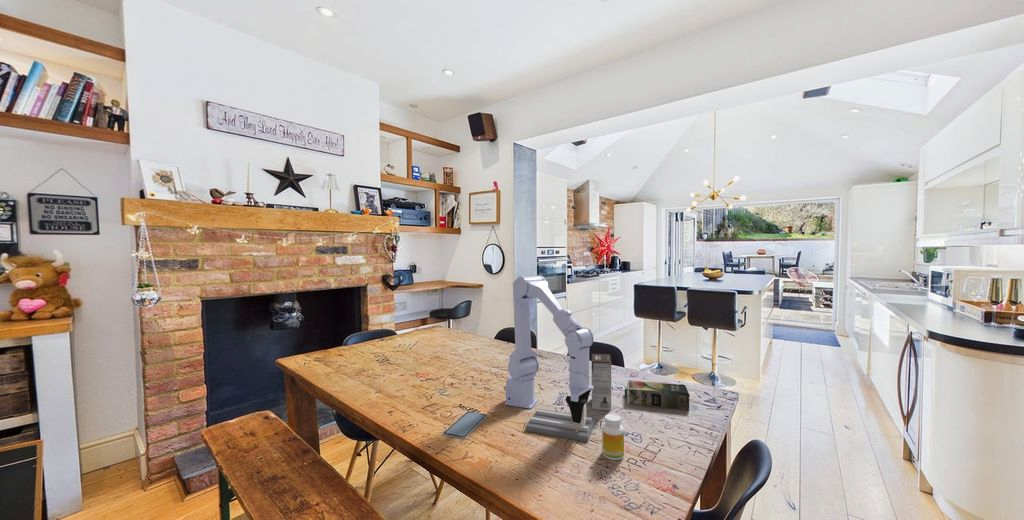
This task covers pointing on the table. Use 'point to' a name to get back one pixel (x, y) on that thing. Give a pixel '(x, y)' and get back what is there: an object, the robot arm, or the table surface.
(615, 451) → the supplement bottle
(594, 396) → the coffee box
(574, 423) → the fader tab
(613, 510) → the table surface
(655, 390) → the juice carton
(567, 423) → the grey slider track
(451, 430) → the smartphone
